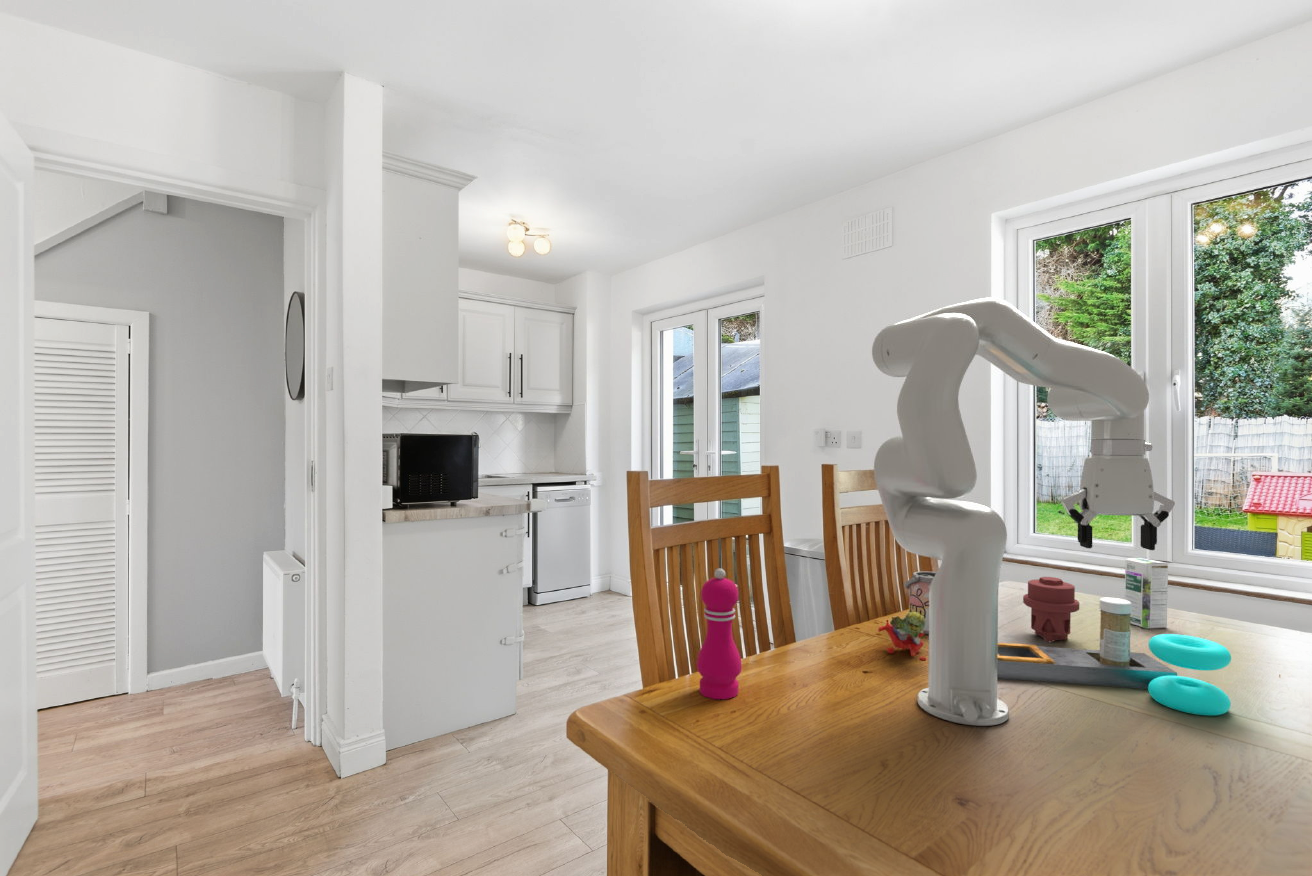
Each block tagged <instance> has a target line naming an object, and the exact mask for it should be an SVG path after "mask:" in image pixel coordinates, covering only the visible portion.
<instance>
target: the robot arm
mask: <svg viewBox="0 0 1312 876" xmlns="http://www.w3.org/2000/svg"><path fill="white" fill-rule="evenodd" d="M871 354H872V355H871V356H872V361H873V362H874V365H875V366H876V368H877V369H878V370H879V371H880V372H881V373H883V374H885V375H886V376H889V377H893V378H905V380H904V382H903V384H902V386H901V388H900V392H899V394H898V397H897V404H896V413H897V418H898V423H899V427H900V431H901V435H898V436H894V437H891V438H889V439H887V440H885V441H884V442H883V443H882V444H881V445H880V446H879V448H878V450H877V451H876V454H875V456H874V463H873V477H874V481H875V484H876V489H877V491H878V494H879V496H880V500H881V504H882V506H883V509H884V512H885V516H886V518H887V519H886V520H887V522H888V525H889V529H890V530H891V532H892V533H891V534H892V535H893V537H894V539H895V541H896V542H897V544H898V545H899V546H900V547H901V548H902V549H904V550H905V551H907V552H908V553H912V554H913V555H914V554H915V555H917V556H922V557H927V558H930V559H935V560H939V561H941V564H940V565H939V568H938V570H937V572H936V574H935V576H934V578H933V580H932V582H931V586H930V591H929V634H928V687H925V688H922V689H920V691H918V692H917V703H918V705H919V706H920V708H921V709H923V710H924V711H925V712H926V713H928V714H930V715H933V716H934V717H937V718H940V719H942V720H946V721H948V722H951V723H957V724H962V725H967V726H977V727H979V726H981V727H986V726H996V725H1000V724H1002V723H1004V722H1006V721H1008V719H1009V716H1010V710H1009V709H1010V708H1009V707H1008V705H1007V704H1006V703H1005V702H1003V700H1001V699H999V697H998V678H997V666H998V643H999V641H998V640H999V635H998V634H999V587H1000V586H999V585H1000V577H1001V576H1000V575H1001V568H1002V563H1003V558H1004V555H1005V550H1006V546H1007V539H1008V538H1007V537H1008V533H1007V527H1006V524H1005V521H1004V520H1003V518H1002V517H1001V516H1000V514H999V513H998V512H996V511H995V510H994V509H993V508H991V507H990V506H989V507H988V506H986V505H983V504H980V503H976V502H972V501H966V500H965V501H964V500H957V499H959V498H963V497H965V496H967V495H969V494H970V493H971V492H972V491H973V490H974V488H975V486H976V484H977V480H978V479H977V475H978V474H977V468H976V464H975V459H974V456H973V452H972V448H971V445H970V441H969V438H968V436H967V432H966V429H965V424H964V421H963V419H962V413H961V410H960V409H961V408H960V404H959V403H960V402H959V393H960V389H961V385H962V382H963V379H964V377H965V374H966V373H967V371H968V369H969V367H970V365H971V363H972V362H973V360H974V358H975V356H979V357H982V358H984V360H986V361H987V362H989V363H990V364H992V365H993V366H995V367H996V368H998V369H1000V370H1001V371H1002V372H1003V373H1005V374H1006V375H1008V377H1010V378H1012V379H1013V380H1015V381H1016V382H1018V383H1021V384H1026V385H1029V386H1030V385H1031V386H1033V387H1040V388H1047V389H1049V391H1048V393H1047V396H1046V397H1047V399H1046V400H1047V403H1046V404H1047V407H1048V408H1049V410H1050V411H1051V413H1052V414H1053V415H1054V416H1056V417H1057V418H1060V419H1062V420H1066V421H1070V422H1071V421H1072V422H1075V421H1076V422H1081V421H1083V422H1084V421H1090V422H1091V424H1090V425H1091V430H1090V436H1091V437H1090V438H1091V439H1090V445H1091V446H1090V456H1089V457H1085V459H1084V462H1083V467H1082V472H1081V478H1080V483H1079V485H1080V487H1079V490H1078V491H1076V492H1074V493H1071V494H1069V495H1067V496H1064V497H1063V498H1061V499H1060V503H1061V504H1062V506H1063V507H1064V508H1063V509H1064V510H1065V511H1066V514H1067V515H1068V516H1069V517H1070V518H1071V519H1072V520H1073V521H1074V523H1076V524H1077V542H1078V543H1079V546H1080V547H1082V548H1085V549H1092V548H1093V526H1092V525H1090V523H1091V522H1092V520H1094V519H1095V518H1096V517H1097V515H1099V516H1100V515H1101V516H1133V517H1135V516H1137V517H1138V518H1139V520H1141V521H1142V522H1143V524H1141V525H1140V547H1141V548H1143V549H1146V550H1148V551H1155V549H1156V545H1157V544H1158V528H1159V527H1160V526H1161V525H1162V523H1163V522H1164V521H1165V520H1167V519H1168V518H1169V516H1170V513H1171V511H1172V510H1173V508H1174V506H1175V503H1176V502H1175V501H1174V500H1172V499H1170V498H1168V497H1166V496H1164V495H1161V494H1160V493H1157V492H1155V491H1154V482H1153V481H1154V480H1153V474H1152V470H1151V466H1150V461H1149V458H1147V457H1145V455H1146V452H1152V450H1153V444H1152V443H1149V442H1148V443H1147V442H1146V439H1145V410H1146V409H1147V407H1148V406H1149V400H1150V393H1149V389H1148V385H1147V384H1146V382H1145V380H1144V379H1143V377H1142V376H1141V375H1140V374H1139V373H1138V372H1137V371H1136V370H1135V369H1133V368H1132V367H1131V366H1130V365H1129V364H1127V363H1126V362H1125V361H1123V360H1122V359H1120V358H1119V357H1117V356H1114V355H1113V354H1110V353H1108V352H1105V351H1102V350H1099V349H1095V348H1093V347H1089V346H1086V345H1082V344H1078V343H1075V342H1072V341H1067V340H1063V339H1061V338H1060V339H1059V338H1056V337H1054V336H1053V335H1051V334H1050V333H1049V332H1048V331H1046V330H1045V329H1043V328H1042V326H1039V325H1038V324H1037V323H1035V322H1034V321H1033V320H1032V319H1030V317H1028V316H1027V315H1025V314H1024V313H1023V312H1021V311H1020V310H1018V309H1017V308H1016V307H1015V306H1014V305H1012V304H1011V303H1009V302H1008V301H1006V300H1004V299H1001V298H997V297H985V298H979V299H973V300H969V301H966V302H961V303H956V304H951V305H947V306H944V307H941V308H938V309H935V310H932V311H929V312H927V313H924V314H921V315H918V316H915V317H912V318H910V319H905V320H902V321H900V322H896V323H892V324H889V325H888V326H886V327H885V328H883V329H881V330H880V332H879V333H878V334H877V335H876V337H875V338H874V341H873V343H872V348H871ZM1077 502H1078V505H1079V509H1080V512H1079V511H1078V510H1077V509H1076V506H1075V503H1077ZM1155 502H1156V503H1158V504H1159V508H1158V509H1157V510H1156V511H1155V512H1154V506H1155ZM1153 512H1154V513H1153Z"/></svg>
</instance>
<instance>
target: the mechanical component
mask: <svg viewBox="0 0 1312 876" xmlns="http://www.w3.org/2000/svg"><path fill="white" fill-rule="evenodd" d="M1075 587H1076V586H1075V585H1073V584H1071V583H1068V582H1065V581H1063V579H1061V578H1060V577H1059V578H1058V577H1052V576H1041V577H1039V579H1038V578H1037V579H1031V580H1028V581H1027V593H1026V594H1024V595H1023V596H1022V597H1023V598H1022V599H1023V600H1022V603H1023V604H1024V605H1025V606H1026V607H1028V608H1030V609H1031V610H1030V611H1031V613H1030V615H1031V616H1030V619H1031V620H1030V623H1031V624H1030V629H1032V630H1033V631H1034V633H1035V635H1037V636H1039V637H1041V638H1043V640H1044V641H1045V642H1048V643H1053V642H1054V641H1062V640H1067V639H1069V637H1068V636H1069V635H1070V634H1071V616H1072V615H1071V613H1075V612H1078V611H1079V610H1080V601H1078V600H1077V599H1076V598H1075V594H1076V590H1075V589H1076V588H1075Z"/></svg>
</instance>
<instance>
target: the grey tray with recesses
mask: <svg viewBox="0 0 1312 876" xmlns="http://www.w3.org/2000/svg"><path fill="white" fill-rule="evenodd" d="M1161 676H1178V672H1177V671H1175V670H1174V669H1172V668H1170V667H1169V666H1166V665H1165V664H1163V663H1162V662H1160V661H1158V660H1156V659H1154V658H1153V657H1151V656H1149V655H1148V654H1146V653H1145V652H1132V651H1130V661H1129V666H1115V665H1103V664H1101V663H1100V649H1098V650H1097V649H1087V648H1086V649H1085V648H1071V647H1070V648H1069V647H1052V646H1038V645H1037V646H1036V645H1035V644H1028V643H1027V644H1024V643H1012V642H1009V643H1008V642H998V666H997V679H1003V680H1014V681H1016V680H1018V681H1031V682H1044V683H1045V682H1046V683H1048V682H1049V683H1057V684H1058V683H1059V684H1071V685H1072V684H1075V685H1086V686H1087V685H1089V686H1103V687H1115V688H1130V689H1132V688H1133V689H1142V690H1144V689H1146V690H1148V686H1149V683H1150V682H1151V681H1152V680H1153V679H1155V678H1157V677H1161Z"/></svg>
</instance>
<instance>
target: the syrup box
mask: <svg viewBox="0 0 1312 876" xmlns="http://www.w3.org/2000/svg"><path fill="white" fill-rule="evenodd" d="M1124 560H1125V562H1124V563H1125V564H1124V565H1125V566H1124V567H1125V568H1124V569H1125V570H1124V600H1127V601H1129V602H1131V613H1130V614H1131V615H1130V625H1135V626H1137V627H1140V628H1143V629H1147V630H1149V629H1150V630H1151V629H1161V628H1168V596H1169V595H1168V589H1169V587H1168V585H1169V581H1168V580H1169V562H1163V561H1158V560H1154V559H1153V560H1152V559H1149V558H1148V559H1147V558H1144V557H1143V558H1142V557H1129V558H1126V559H1124Z"/></svg>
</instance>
